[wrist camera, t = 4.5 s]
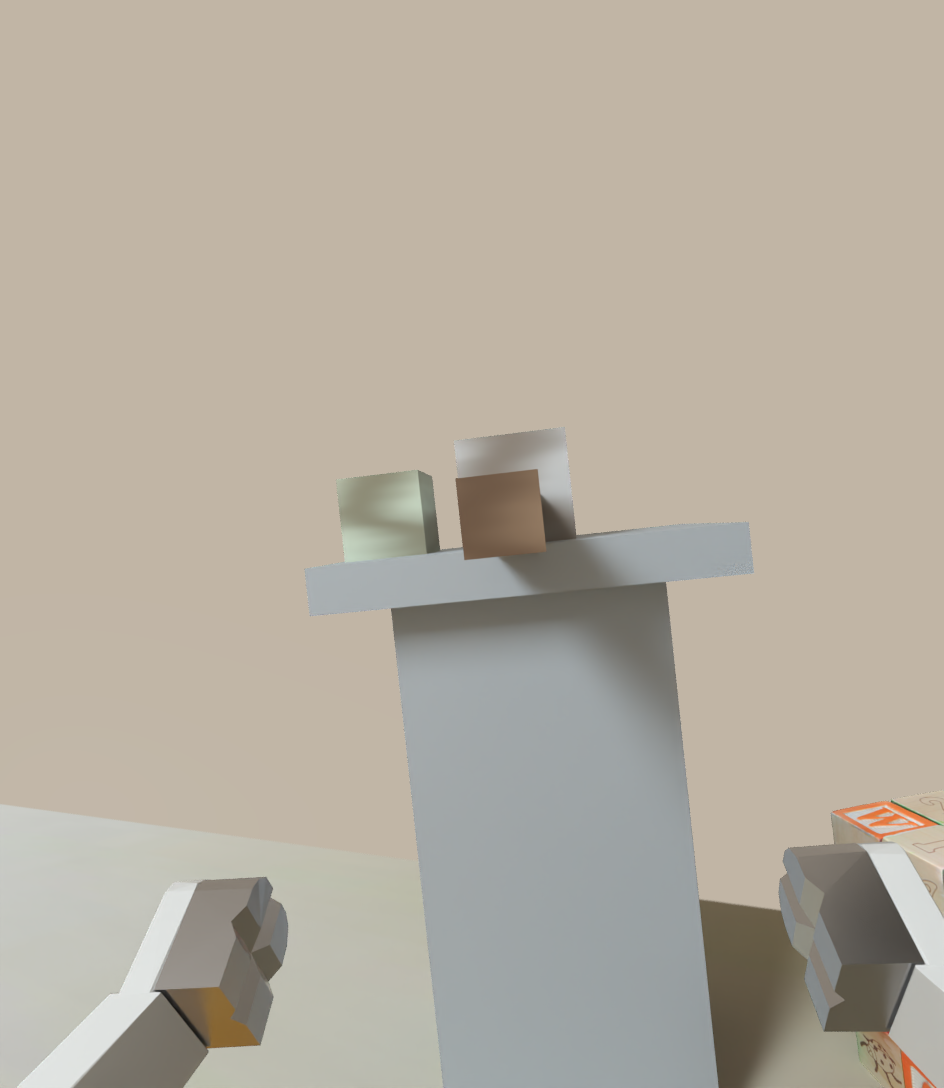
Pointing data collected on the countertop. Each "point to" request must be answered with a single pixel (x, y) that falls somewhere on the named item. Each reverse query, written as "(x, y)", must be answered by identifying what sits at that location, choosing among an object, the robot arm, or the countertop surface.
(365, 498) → the sage cube
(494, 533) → the steel-headed mallet
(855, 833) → the stack of blocks
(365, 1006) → the countertop surface
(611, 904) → the grey pedestal
